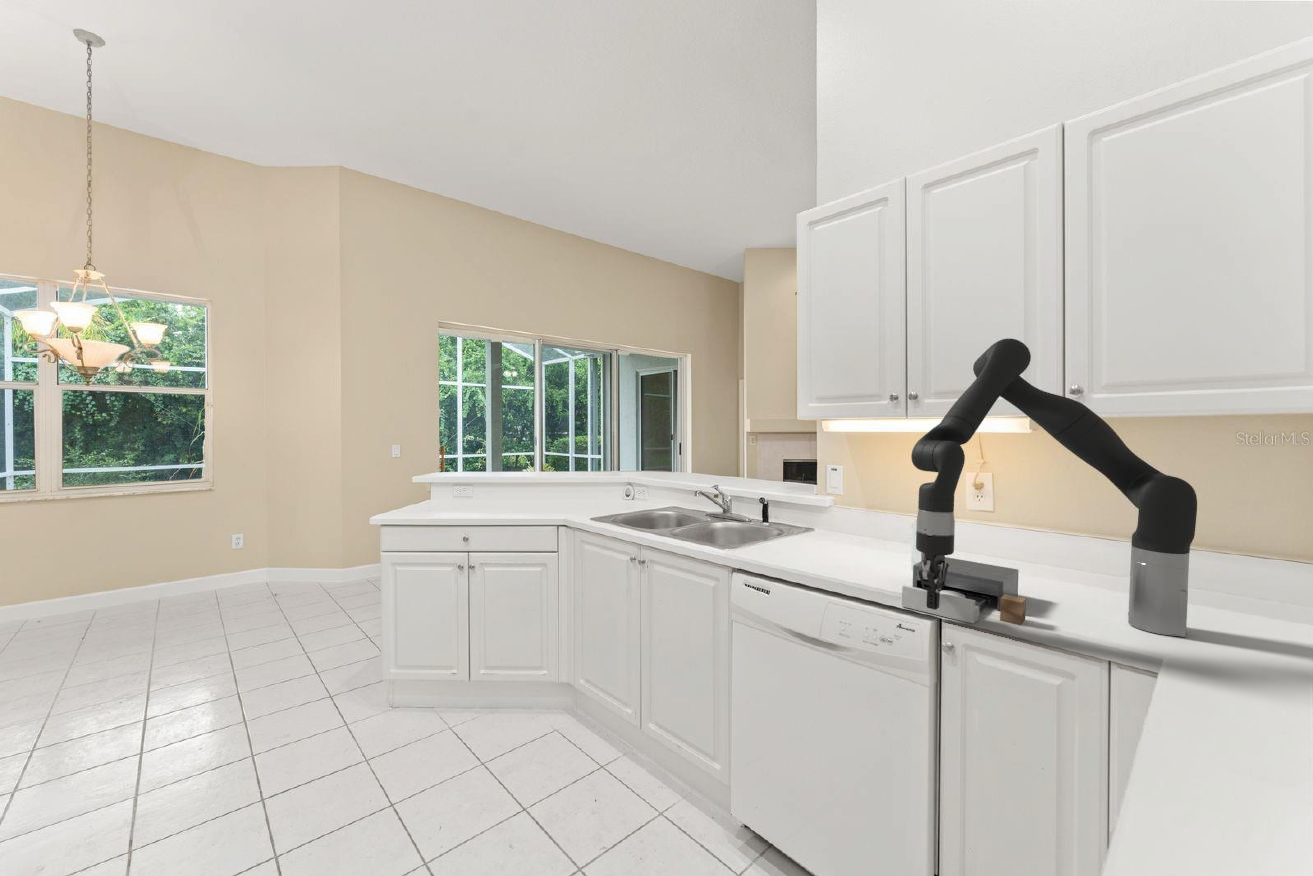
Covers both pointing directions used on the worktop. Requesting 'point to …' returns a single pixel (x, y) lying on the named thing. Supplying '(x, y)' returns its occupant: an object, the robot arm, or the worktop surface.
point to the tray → (946, 603)
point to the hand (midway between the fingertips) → (932, 608)
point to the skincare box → (915, 554)
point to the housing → (976, 578)
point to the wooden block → (1012, 609)
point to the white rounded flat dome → (952, 593)
